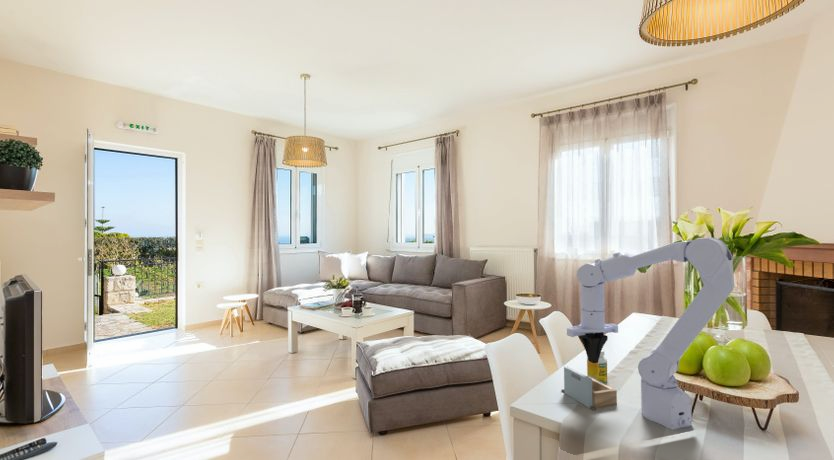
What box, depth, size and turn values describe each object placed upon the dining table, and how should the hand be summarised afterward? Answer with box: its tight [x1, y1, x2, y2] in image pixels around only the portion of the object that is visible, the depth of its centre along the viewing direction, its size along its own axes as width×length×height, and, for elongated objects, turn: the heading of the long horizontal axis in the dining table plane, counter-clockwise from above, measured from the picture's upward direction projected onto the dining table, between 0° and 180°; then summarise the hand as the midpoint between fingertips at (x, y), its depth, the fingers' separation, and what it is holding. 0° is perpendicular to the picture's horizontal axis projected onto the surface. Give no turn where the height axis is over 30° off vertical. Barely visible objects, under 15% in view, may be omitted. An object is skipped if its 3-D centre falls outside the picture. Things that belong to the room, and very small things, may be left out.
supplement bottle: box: [586, 348, 608, 384], centre depth 112 cm, size 5×5×10 cm
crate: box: [560, 375, 618, 411], centre depth 99 cm, size 12×8×4 cm
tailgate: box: [563, 366, 592, 409], centre depth 98 cm, size 9×1×7 cm, turn 17°
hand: (593, 361), depth 100 cm, fingers closed
